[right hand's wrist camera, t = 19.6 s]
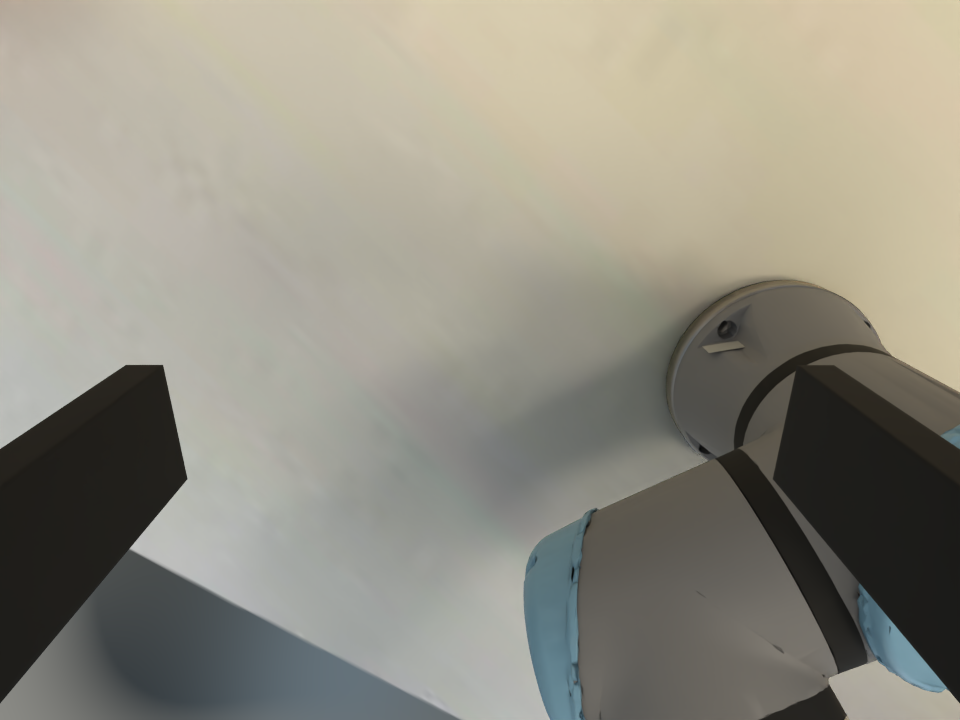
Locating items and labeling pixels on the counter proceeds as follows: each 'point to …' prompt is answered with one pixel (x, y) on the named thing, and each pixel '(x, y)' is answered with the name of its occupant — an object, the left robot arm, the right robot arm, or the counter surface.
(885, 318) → the counter surface
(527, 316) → the counter surface
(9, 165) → the counter surface
